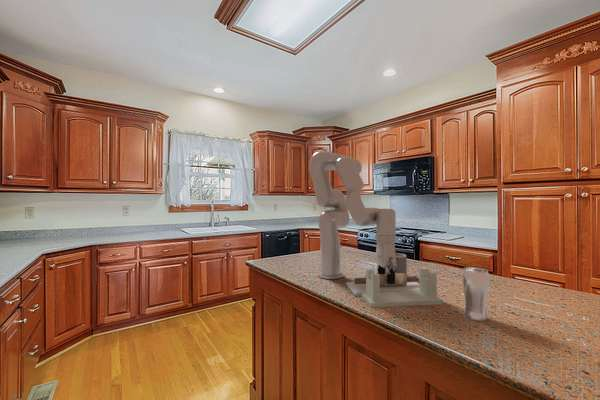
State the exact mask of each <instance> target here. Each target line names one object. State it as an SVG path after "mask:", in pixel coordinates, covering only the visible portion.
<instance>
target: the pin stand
mask: <svg viewBox="0 0 600 400" xmlns="http://www.w3.org/2000/svg"><path fill="white" fill-rule="evenodd" d="M418 269H419V270H418V271H419V273H418V274H419V278H418V279H419V280H418V281H419V282H418V283H419V291H400V292H380V275H379V274H378V272H376V273H375V270H374V269H373V268H372V269H371V268H370V269H369V268H367V269H365V276H366V293H362V296H361V298H362V299H363V301H364V302H365V303H366V304H367V305H368V306H369V308H386V307H387V308H388V307H389V308H390V307H407V306H410V307H411V306H430V305H431V306H432V305H433V306H434V305H436V306H437V305H443V299H442V298H440V297H439V296H438V295H437V293H438V291H437V290H438V288H437V286H438V285H437V284H438V282H437V281H438V279H437V278H438V277H437V276H438V274H437V272H436V271H429V268H427V267H419V268H418Z"/></svg>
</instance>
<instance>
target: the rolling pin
mask: <svg viewBox="0 0 600 400" xmlns="http://www.w3.org/2000/svg"><path fill="white" fill-rule="evenodd" d="M379 275H380V286H403V285H407V282H417V283H418V277H417V275H407V276H406V275H405V274H404V273H401V274H395V284H387V274H379ZM353 282H355V284H366V275H365V276H364V277H354V281H353Z"/></svg>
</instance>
